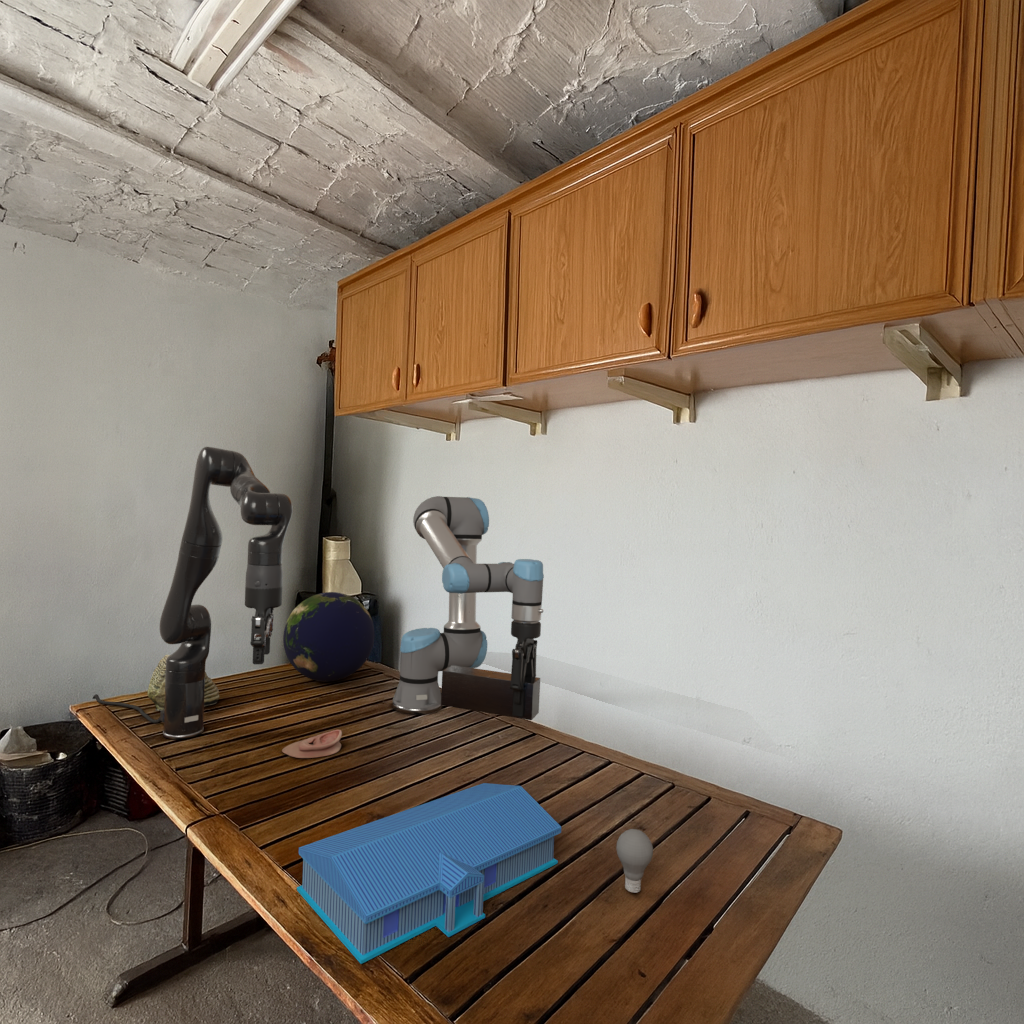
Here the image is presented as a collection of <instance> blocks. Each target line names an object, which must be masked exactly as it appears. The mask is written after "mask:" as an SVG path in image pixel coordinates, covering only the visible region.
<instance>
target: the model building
mask: <svg viewBox="0 0 1024 1024" xmlns="http://www.w3.org/2000/svg"><path fill="white" fill-rule="evenodd" d="M561 833H562V826H561V825H560V824H559V823H558V822H557V821H556V820H555V819H554V818H553V817H552V816H551V814H549V813H548V811H547V810H545V809H544V808H543V806H542V805H541V804H539V803H538V802H537V801H536V799H534V798H533V796H532V795H531V794H530V793H529V792H528V791H526V789H525V788H523V786H522V785H515V784H514V785H513V784H501V783H490V782H489V783H488V782H483V783H480V784H477V785H474V786H472V787H468V788H466V789H463V790H460V791H457V792H454V793H451V794H448V795H445V796H441V797H440V798H437V799H434V800H431V801H429V802H425V803H423V804H419V805H416V806H414V807H411V808H408V809H405V810H402V811H400V812H397V813H394V814H391V815H388V816H385V817H382V818H379V819H376V820H374V821H371V822H368V823H366V824H362V825H360V826H356V827H354V828H351V829H349V830H345V831H343V832H340V833H337V834H333V835H331V836H328V837H325V838H323V839H320V840H316V841H313V842H311V843H308V844H305V845H302V846H299V847H298V855H299V856H300V857H301V858H302V884H301V885H298V886H297V887H296V891H297V893H298V894H300V896H302V898H303V899H304V900H305V901H306V903H307V904H308V905H309V907H311V909H312V910H313V911H314V912H315V913H316V914H317V915H318V917H319V918H320V919H321V920H322V921H323V923H324V924H325V925H326V926H327V927H328V928H329V929H330V930H331V932H332V933H333V934H334V935H335V936H336V937H337V939H338V940H339V941H340V942H341V943H342V944H343V945H344V947H345V948H346V949H347V950H348V952H350V954H351V955H352V956H353V957H354V958H355V959H356V960H357V962H358V963H359V964H360V965H363V964H364V963H366V962H369V961H370V960H372V959H374V958H376V957H378V956H380V955H382V954H384V953H386V952H388V951H390V950H391V949H394V948H395V947H397V946H399V945H401V944H403V943H406V942H407V941H409V940H412V939H413V938H414V937H417V936H419V935H421V934H424V933H426V932H427V931H429V930H431V929H432V928H434V927H436V928H437V929H439V930H440V931H441V932H442V933H443V934H444V935H446V937H447V938H450V937H453V936H454V935H456V934H458V933H459V932H461V931H463V930H466V929H467V928H469V927H470V926H472V925H474V924H476V923H478V922H480V921H481V920H483V919H486V913H484V912H483V911H484V902H486V901H487V900H489V899H491V898H494V897H495V896H497V895H499V894H501V893H503V892H505V891H507V890H509V889H511V888H512V887H515V886H517V885H518V884H520V883H522V882H525V881H526V880H528V879H530V878H532V877H534V876H536V875H538V874H540V873H542V872H544V871H545V870H548V869H550V868H552V867H554V866H555V865H558V863H559V860H557V859H556V858H554V852H555V851H554V850H555V837H556V836H557V835H559V834H561Z"/></svg>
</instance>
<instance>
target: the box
mask: <svg viewBox="0 0 1024 1024" xmlns="http://www.w3.org/2000/svg"><path fill="white" fill-rule="evenodd" d="M510 686H511V673H510V672H503V671H495V670H489V669H481V668H469V667H462V666H455V665H452V666H450V667H448V668H446V669H444V670H443V671H441V689H440V692H441V705H443V707H444V706H445V707H448V708H449V707H450V708H456V709H460V710H467V711H472V712H473V711H474V712H480V713H484V714H485V713H486V714H491V715H495V716H496V715H497V716H503V717H509V718H515V719H521V720H527V721H533V719H534V718H535V717H536V716H537V715H538V714H540V713H539V712H540V696H541V693H540V692H541V691H540V690H541V677H538V676H536V677H531V676H525V680H524V689H523V690H525V695H524V716H523V717H521V716H514V715H512V712H513V690H512V689H510Z"/></svg>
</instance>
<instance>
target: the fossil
mask: <svg viewBox="0 0 1024 1024" xmlns="http://www.w3.org/2000/svg"><path fill="white" fill-rule="evenodd" d="M170 655H171V654H165V655H164V656H163V657H162V658H161V659H160V660H159V662H158V663H157V666H156V667H155V669H154V670H153V672H152V675H151V677H150V680H149V684H148V688H147V697H148V699H149V700H150V701H152V703H153V704H154V706H155V711H158V712H159V711H160V712H161V711H162V710H164V705H165V674H166V660H167V658H168V657H169V656H170ZM220 698H221V696H220V690H219V688H218V686H217V685H216V683H215V682H214V681H213V679H212V678H211V677H209V675H208V674H207V672H206V671H205V693H204V707H207V706H213V705H215V704H217V703H218V701H219V699H220Z"/></svg>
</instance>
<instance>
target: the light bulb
mask: <svg viewBox="0 0 1024 1024" xmlns="http://www.w3.org/2000/svg"><path fill="white" fill-rule="evenodd" d="M615 849H616V854H617V857H618V859H619V861H620V863H621V865H622V867H623V873H624V874H623V875H624V876H625V878H624V888H625V890H627V891H628V892H630V893H634V894H635V893H639V892H640V891H641V889H642V887H641V886H642V879H643V877H644V875H645V871H646V868H647V867H648V866H649V864H650V863H651V861H652V859H653V855H654V847H653V843H652V841H651V838H649V836H648V835H647V834H646V833H645V832H643V831H642V830H641V829H636V828H629V829H627V830H625V831H623V832H622V833H621V834H620V835H619V837H618V839H617V841H616V847H615Z"/></svg>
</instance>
